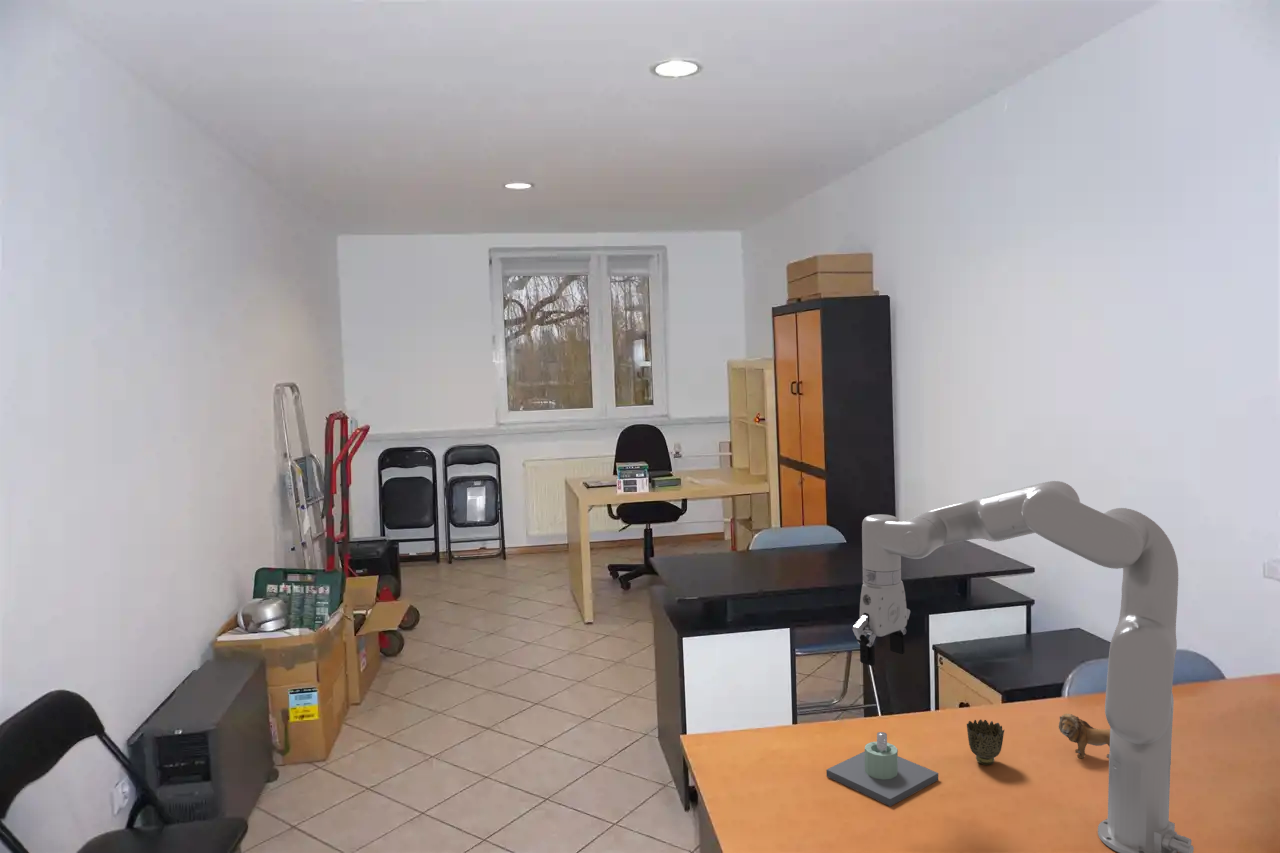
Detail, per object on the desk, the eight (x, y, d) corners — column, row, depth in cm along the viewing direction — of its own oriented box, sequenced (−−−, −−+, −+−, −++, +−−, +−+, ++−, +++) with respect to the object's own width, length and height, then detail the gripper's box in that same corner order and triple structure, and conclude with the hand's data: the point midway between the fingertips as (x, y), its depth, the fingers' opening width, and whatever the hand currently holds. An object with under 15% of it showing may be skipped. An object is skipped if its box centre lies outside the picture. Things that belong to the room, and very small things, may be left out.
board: (938, 779, 185) (938, 773, 185) (890, 806, 175) (890, 799, 175) (874, 753, 198) (874, 746, 198) (826, 776, 188) (826, 769, 188)
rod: (889, 771, 186) (888, 734, 185) (882, 774, 185) (882, 737, 184) (881, 767, 188) (880, 731, 187) (875, 771, 187) (874, 733, 186)
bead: (903, 772, 186) (903, 749, 185) (884, 782, 182) (884, 758, 181) (878, 761, 191) (878, 738, 190) (858, 770, 187) (858, 747, 186)
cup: (1006, 771, 188) (1007, 735, 187) (969, 769, 189) (969, 732, 188) (1000, 755, 195) (1000, 719, 194) (964, 753, 196) (964, 718, 196)
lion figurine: (1058, 758, 193) (1059, 718, 192) (1057, 747, 198) (1058, 708, 197) (1136, 769, 187) (1137, 727, 186) (1133, 757, 192) (1134, 717, 191)
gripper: (869, 588, 174) (870, 673, 176) (923, 571, 185) (923, 652, 186) (839, 580, 180) (840, 663, 182) (892, 565, 190) (893, 643, 192)
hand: (882, 658), depth 184 cm, fingers open, 9 cm apart
